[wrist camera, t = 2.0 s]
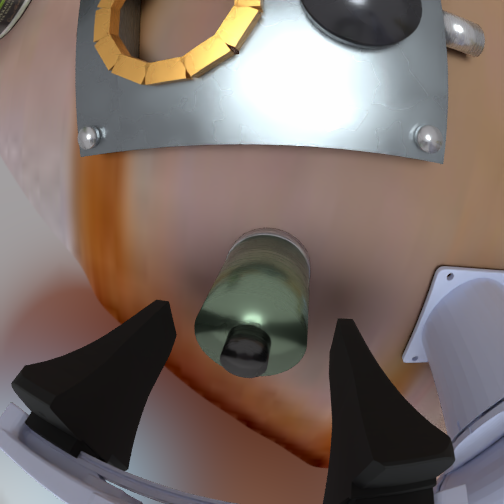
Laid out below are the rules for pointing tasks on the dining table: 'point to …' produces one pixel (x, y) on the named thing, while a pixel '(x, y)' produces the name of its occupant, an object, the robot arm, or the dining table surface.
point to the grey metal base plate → (275, 78)
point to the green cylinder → (258, 306)
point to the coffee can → (11, 13)
